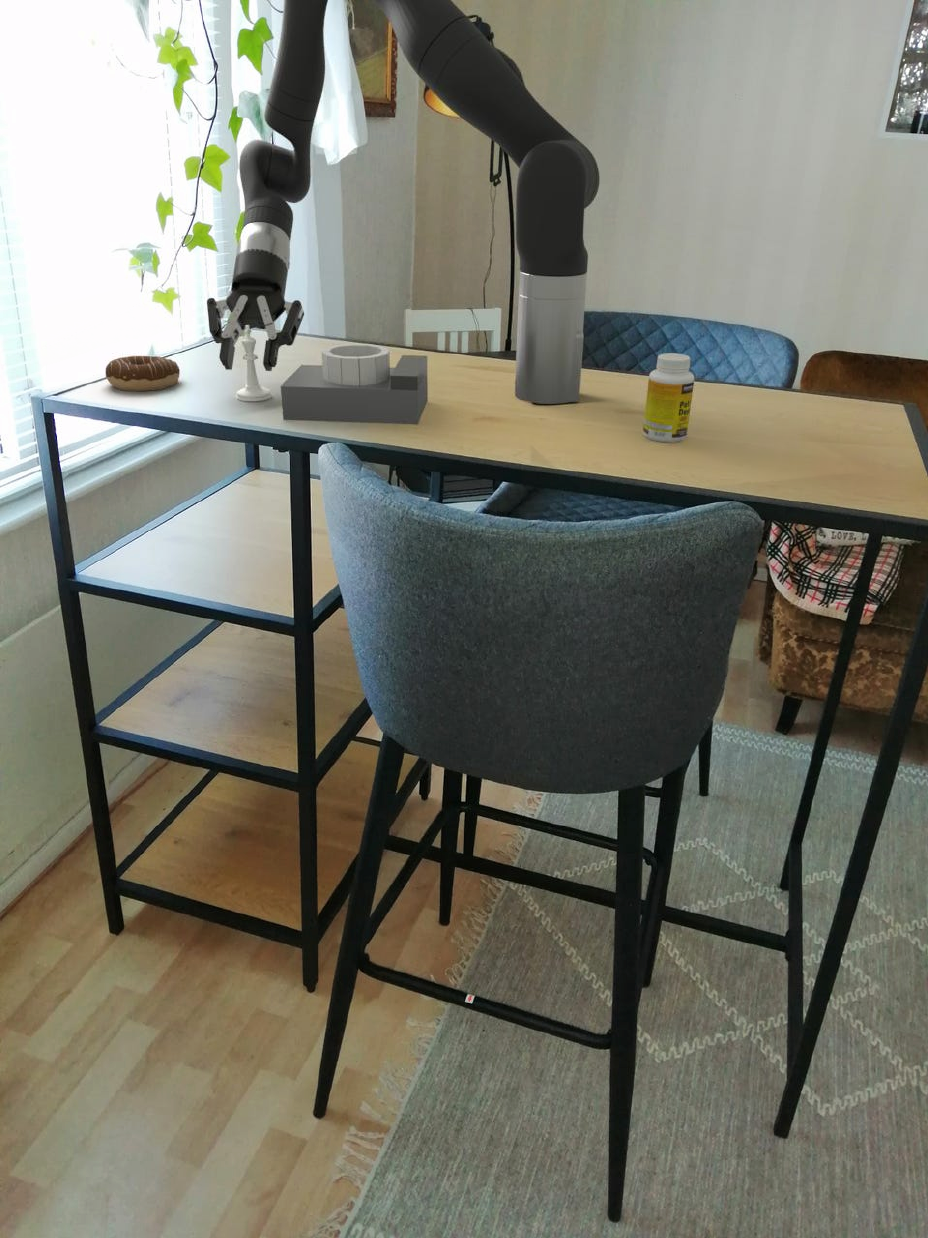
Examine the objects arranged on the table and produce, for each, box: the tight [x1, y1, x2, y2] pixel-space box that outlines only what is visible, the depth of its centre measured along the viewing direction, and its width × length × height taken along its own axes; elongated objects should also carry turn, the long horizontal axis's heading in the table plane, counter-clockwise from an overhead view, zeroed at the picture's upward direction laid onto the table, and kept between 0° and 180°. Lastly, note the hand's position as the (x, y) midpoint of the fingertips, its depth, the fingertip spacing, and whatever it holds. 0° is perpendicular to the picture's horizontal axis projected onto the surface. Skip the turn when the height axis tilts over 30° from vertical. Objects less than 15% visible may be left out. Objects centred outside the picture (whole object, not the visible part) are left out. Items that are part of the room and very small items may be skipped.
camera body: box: [280, 343, 429, 425], centre depth 126 cm, size 18×12×8 cm, turn 86°
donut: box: [105, 355, 181, 392], centre depth 138 cm, size 11×11×4 cm
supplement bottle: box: [642, 352, 695, 443], centre depth 116 cm, size 6×6×10 cm
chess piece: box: [236, 325, 272, 402], centre depth 131 cm, size 5×5×10 cm
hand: (247, 366), depth 130 cm, fingers open, 5 cm apart
